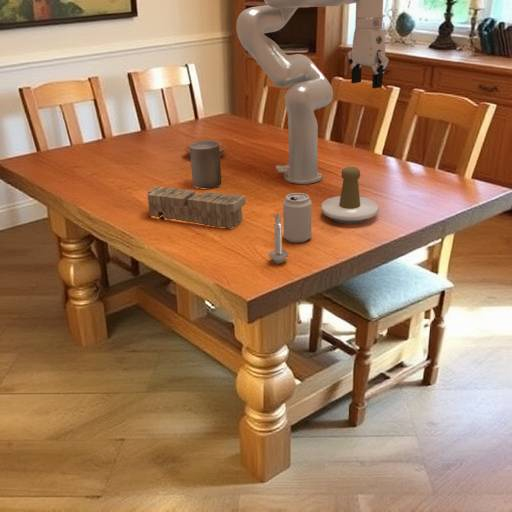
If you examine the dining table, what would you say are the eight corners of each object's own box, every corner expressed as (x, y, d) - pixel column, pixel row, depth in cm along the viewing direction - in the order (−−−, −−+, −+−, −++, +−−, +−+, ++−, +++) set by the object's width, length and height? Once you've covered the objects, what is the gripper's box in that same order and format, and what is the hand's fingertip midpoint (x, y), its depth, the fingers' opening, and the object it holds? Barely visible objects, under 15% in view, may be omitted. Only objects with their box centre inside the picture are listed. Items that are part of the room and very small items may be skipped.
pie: (235, 154, 257) (234, 141, 255) (211, 165, 245) (210, 151, 243) (202, 148, 264) (201, 136, 262) (177, 159, 252) (176, 146, 250)
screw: (292, 261, 169) (279, 267, 166) (277, 255, 172) (264, 262, 169) (291, 212, 164) (278, 218, 161) (276, 208, 167) (263, 213, 164)
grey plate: (319, 226, 189) (319, 214, 188) (323, 205, 204) (324, 194, 202) (377, 228, 187) (377, 216, 185) (378, 207, 201) (378, 196, 199)
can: (282, 233, 185) (281, 192, 180) (309, 232, 186) (309, 190, 181) (285, 244, 179) (284, 201, 174) (313, 243, 179) (313, 200, 174)
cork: (361, 201, 196) (363, 165, 191) (359, 209, 190) (360, 171, 186) (340, 200, 197) (341, 164, 192) (337, 208, 192) (338, 170, 187)
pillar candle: (226, 181, 227) (224, 137, 220) (213, 191, 219) (209, 145, 212) (201, 179, 231) (198, 135, 224) (187, 188, 223) (183, 143, 216)
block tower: (146, 221, 200) (235, 231, 188) (142, 194, 196) (233, 202, 185) (160, 211, 206) (247, 221, 195) (156, 185, 203) (245, 193, 191)
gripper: (399, 25, 187) (395, 88, 194) (360, 20, 201) (358, 79, 208) (377, 27, 184) (375, 91, 191) (339, 22, 197) (338, 82, 204)
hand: (366, 85), depth 199 cm, fingers open, 9 cm apart
